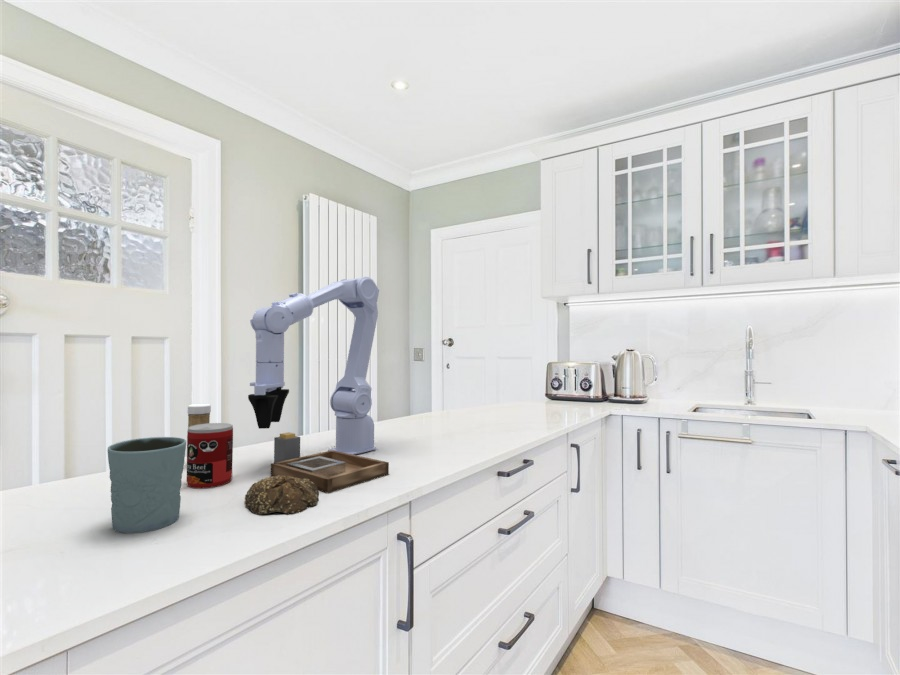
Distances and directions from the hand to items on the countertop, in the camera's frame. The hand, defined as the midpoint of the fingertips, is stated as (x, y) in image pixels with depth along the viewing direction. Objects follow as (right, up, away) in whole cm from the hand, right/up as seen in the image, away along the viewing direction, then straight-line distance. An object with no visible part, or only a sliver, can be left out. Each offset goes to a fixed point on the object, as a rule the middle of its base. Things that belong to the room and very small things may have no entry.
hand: (269, 424), depth 103 cm
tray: (+14, -10, -4) cm, 18 cm away
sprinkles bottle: (-17, -10, +3) cm, 20 cm away
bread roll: (+10, -10, -21) cm, 26 cm away
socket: (+11, -10, -5) cm, 16 cm away
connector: (+2, -10, +5) cm, 11 cm away
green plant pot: (-7, -9, -31) cm, 33 cm away
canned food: (-8, -10, -10) cm, 16 cm away
